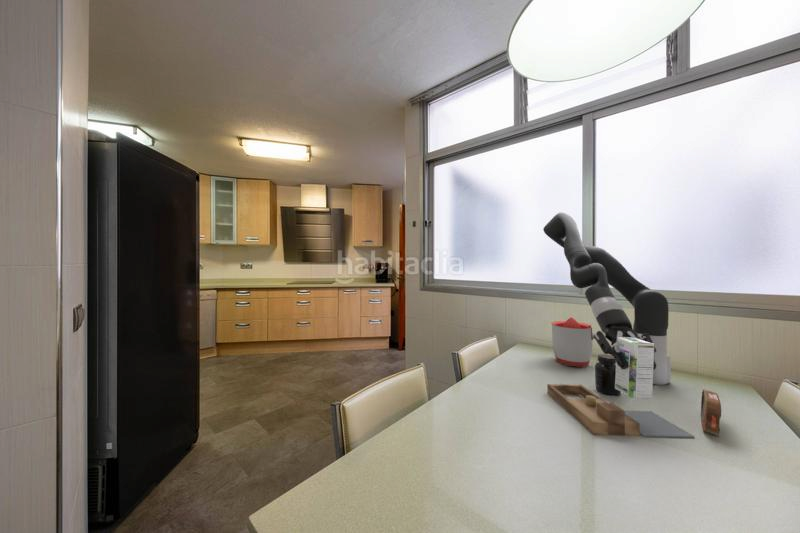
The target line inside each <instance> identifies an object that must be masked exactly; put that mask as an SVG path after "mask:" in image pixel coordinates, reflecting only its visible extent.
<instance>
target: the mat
mask: <svg viewBox="0 0 800 533" xmlns="http://www.w3.org/2000/svg"><path fill="white" fill-rule="evenodd" d="M624 411H625V414H626V415H628V416H629V417H631V418H632V419H634V420H635V421H637V422H638V423H639V430H640V436H642V438H674V439H675V438H679V439H683V438H684V439H695V437H696V436H695V435H693V434H691V433H689V432H688V431H686V430H684V429H683V428H681V427H679V426H677V425H676V424H674V423H672V422H671V421H669V420H667V419H665V418H664V417H662V416H660V415H659V414H657V413H656V412H653V411H652V410H624Z"/></svg>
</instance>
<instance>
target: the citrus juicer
mask: <svg viewBox="0 0 800 533" xmlns="http://www.w3.org/2000/svg"><path fill="white" fill-rule="evenodd" d="M551 334H552V335H551V336H552V337H551V339H552V340H551V342H552V350H553V353H554V357H555V360H556V361H557V362H558V363H560V364H561V363H562V365H564V364H565V365H567V366H572V367H578V368H584V367H587V366H589V364H590V362H591V358H592V354H593V346H594V344H593V343H594V342H593V340H595V338H594V335H595V334H596V333H593V327H592V324H589V323H584V322H578V321H577V320H576V319H575V318H574V317H569V318H567V319H566V320H563V321H562V320H560V321H552V322H551Z"/></svg>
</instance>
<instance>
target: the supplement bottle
mask: <svg viewBox="0 0 800 533" xmlns="http://www.w3.org/2000/svg"><path fill="white" fill-rule="evenodd" d="M597 361H598V362H596V363H595V365H594V382H595V384H594V386H595V391H596V392H598V393H599V394H601V395H605V396H610V397H620V396H621V395H622V392H621V391H619V390H617V389H615V376H616V360H615V358H614V356H612V355H611V354H605V353H602V354H601V353H600V354H598V355H597Z"/></svg>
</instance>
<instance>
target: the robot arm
mask: <svg viewBox="0 0 800 533" xmlns="http://www.w3.org/2000/svg"><path fill="white" fill-rule="evenodd" d="M543 232H544V234H545V235H547V237H549V239H550V240H551V241H553V242H554V243H556V244H557V245H559V246H560V247H561V248H563V252H564V253H563V254H564V256H565V258H566V261H567V263H568V264H569V270H570V272H569V274H570V275H569V276H570V280H571V284H573V286H575V287H576V288H578V289H586V288H587V289H586V290H585V292H584V295H585V298H586V299H587V302H588V305H589V306H590V308H591V311H592V313H593V316H594V318H595V320H596V323H597V324H598V326H599V328H600V330H601V331H600V330H597V332H596V333H594V334H595V335H594V338H595V339H594V338H593V339H594V340H595V341H596V343H597V345H598V346H599V348H600V349H601V351H602V352H603V354H605V355H611V356H614V358H615V360H616V362H617V364H618V366H619V367H621V369H627V368H628V363H627V362H626V360H625V358H624V356H623V354H622V353H620V347H619V342H618V341H617V338H618V337H631V338H637V339H640V340H643V341H646V342H649V343H654V363H653V385H661V386H663V385H664V386H665V385H668V384H671V381H672V380H671V356H669V355H668V334H667V333H668V329H669V315H670V314H669V313H670V312H669V311H670V309H669V302H668V299H667V298H666V296H665V295H664V294H663V293H661V292H658V291H655V290H654V289H653V290H652V289H651V288H649V287H648V286H647V285H645V284H643V283H642V282H640V281H639V280H637V278H635V277H634V276H633V275H631V274H630V272H629V270H627V269H626V267H625V266H623V264H622V263H621V262H620V261H619V260H618V259H616V258H615V257H614V256H613V255H612V254H610V252H607V250H605V249H604V248H602V247H599V246H594V245H593V246H592V245H589V244H587V245H586V244H584V243H583V242H582V238H581V235H580V232H579V227H578V225H577V222H576V220H575V219H574V218H573V217H572V216H571V215H570V214H568V213H565V212H563V211H562V212H561V211H560V212H557V213H556V214H555V215H554V216H553V217H552V218H551V219H550V220H548V222H547V223H546V225H545V226H543ZM610 286H611V287H612V288H613V289H615V290H616V291H617V292H619V293H620V294H621V295H622V297H624V298H625V299H626V301H628V302H629V303H630V305H631V306H632V308H634V312H633V313H634V319H633V320H634V322H633V324H632V321H631V320H630V319H629V317H628V315H627V314H626V312H625V310H624V309H623V307H622V305H621V304H620V303H619V301H618V300H617V299H616V297H615V295H614V294H613V292H612V290H611V288H610ZM609 342H610V343H609Z"/></svg>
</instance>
